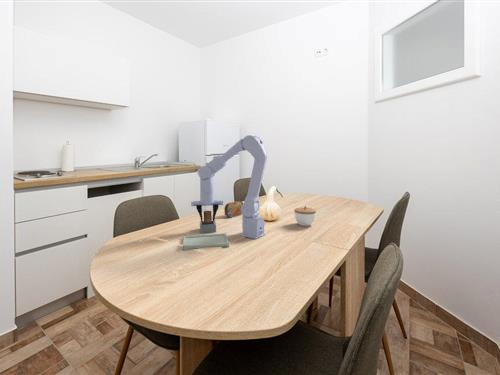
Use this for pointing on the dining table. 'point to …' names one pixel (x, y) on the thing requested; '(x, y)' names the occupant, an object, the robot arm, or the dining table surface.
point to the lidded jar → (305, 216)
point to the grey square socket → (207, 227)
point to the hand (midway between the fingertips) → (207, 220)
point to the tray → (205, 241)
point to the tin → (233, 209)
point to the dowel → (207, 217)
